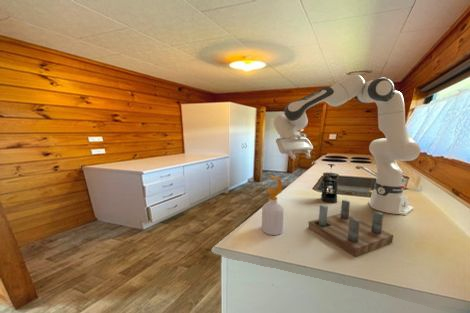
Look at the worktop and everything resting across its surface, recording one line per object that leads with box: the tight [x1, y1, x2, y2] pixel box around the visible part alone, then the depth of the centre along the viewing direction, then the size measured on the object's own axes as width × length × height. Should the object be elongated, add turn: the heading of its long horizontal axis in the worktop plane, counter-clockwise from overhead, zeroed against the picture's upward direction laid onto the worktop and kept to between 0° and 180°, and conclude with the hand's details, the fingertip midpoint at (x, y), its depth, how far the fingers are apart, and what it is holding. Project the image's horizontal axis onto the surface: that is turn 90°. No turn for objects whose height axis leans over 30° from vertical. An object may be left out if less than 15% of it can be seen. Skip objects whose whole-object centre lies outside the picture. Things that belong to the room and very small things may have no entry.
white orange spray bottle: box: [261, 174, 285, 236], centre depth 85 cm, size 9×9×25 cm
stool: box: [308, 199, 394, 257], centre depth 82 cm, size 22×22×11 cm
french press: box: [320, 163, 340, 204], centre depth 121 cm, size 12×9×23 cm
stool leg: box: [318, 204, 329, 228], centre depth 86 cm, size 3×3×11 cm
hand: (302, 158), depth 100 cm, fingers open, 8 cm apart
